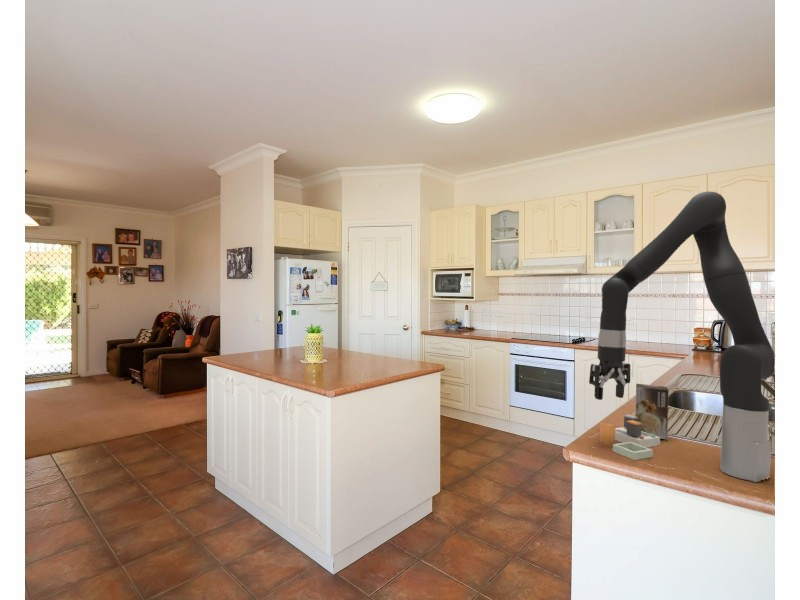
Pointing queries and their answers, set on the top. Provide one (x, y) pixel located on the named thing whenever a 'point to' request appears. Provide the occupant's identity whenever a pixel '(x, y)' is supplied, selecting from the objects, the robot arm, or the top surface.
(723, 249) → the robot arm
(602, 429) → the cap
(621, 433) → the box
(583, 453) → the top surface
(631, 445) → the pale green square frame
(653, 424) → the coffee box
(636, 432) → the tagged breaker
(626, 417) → the block
